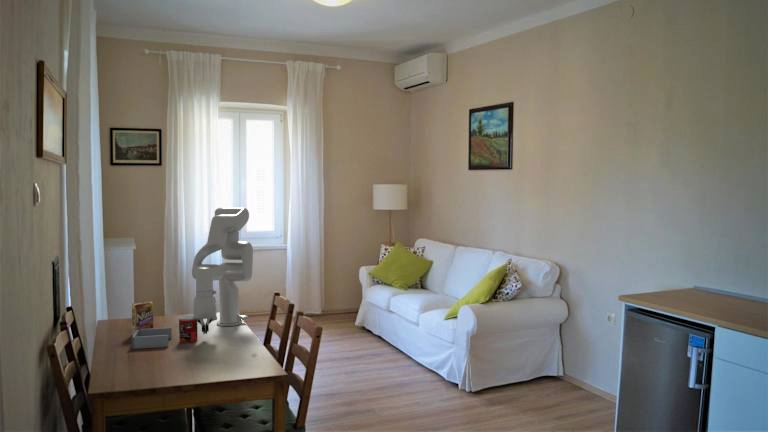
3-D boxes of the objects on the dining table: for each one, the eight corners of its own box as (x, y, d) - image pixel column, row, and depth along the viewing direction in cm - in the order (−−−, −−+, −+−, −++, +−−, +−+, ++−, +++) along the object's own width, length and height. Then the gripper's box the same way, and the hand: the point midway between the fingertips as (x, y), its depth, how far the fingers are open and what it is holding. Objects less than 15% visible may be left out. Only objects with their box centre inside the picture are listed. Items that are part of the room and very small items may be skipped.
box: (171, 338, 274) (171, 327, 274) (168, 346, 260) (168, 335, 260) (137, 340, 271) (137, 329, 270) (131, 348, 256) (131, 337, 256)
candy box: (135, 337, 276) (134, 304, 276) (131, 335, 279) (130, 303, 279) (154, 333, 282) (153, 302, 282) (150, 332, 286) (149, 300, 285)
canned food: (175, 342, 267) (175, 318, 267) (189, 338, 274) (188, 314, 274) (188, 344, 264) (187, 319, 263) (201, 340, 271) (200, 316, 270)
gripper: (221, 291, 275) (222, 330, 276) (188, 293, 271) (188, 332, 272) (221, 294, 268) (221, 334, 269) (186, 296, 264) (187, 336, 265)
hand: (205, 333), depth 271 cm, fingers closed
